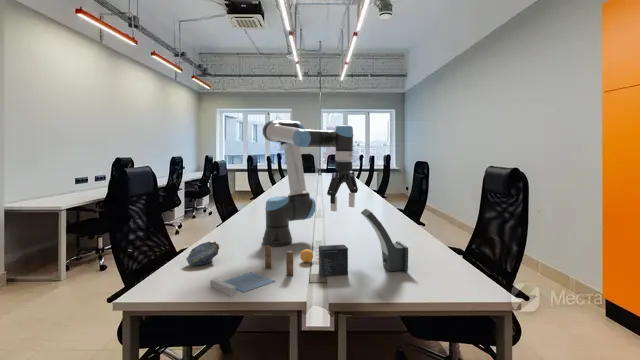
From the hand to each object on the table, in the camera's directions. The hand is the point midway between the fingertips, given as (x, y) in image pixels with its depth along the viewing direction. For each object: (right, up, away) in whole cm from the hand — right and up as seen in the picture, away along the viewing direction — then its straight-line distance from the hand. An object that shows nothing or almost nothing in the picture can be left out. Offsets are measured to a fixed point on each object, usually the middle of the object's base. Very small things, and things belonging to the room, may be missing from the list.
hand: (342, 209), depth 161 cm
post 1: (-31, -23, -14) cm, 41 cm away
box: (-5, -24, -20) cm, 31 cm away
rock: (-59, -22, -9) cm, 64 cm away
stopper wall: (-43, -25, -38) cm, 62 cm away
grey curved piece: (+15, -23, -15) cm, 32 cm away
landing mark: (-36, -24, -30) cm, 53 cm away
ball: (-16, -19, -7) cm, 26 cm away
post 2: (-22, -23, -23) cm, 39 cm away
